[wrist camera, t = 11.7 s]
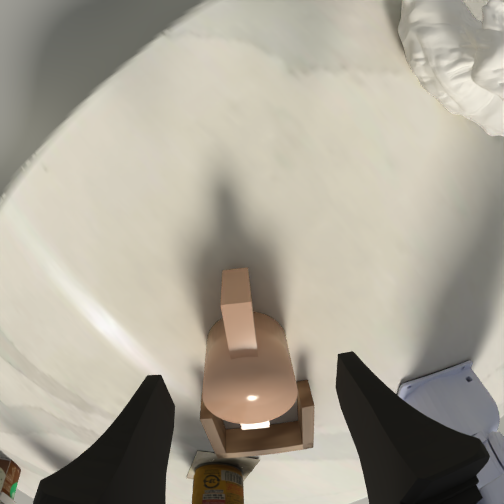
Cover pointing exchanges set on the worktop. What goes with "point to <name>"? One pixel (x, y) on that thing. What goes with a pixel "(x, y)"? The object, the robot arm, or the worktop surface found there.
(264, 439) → the cradle
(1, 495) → the food container
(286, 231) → the worktop surface
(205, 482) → the condiment
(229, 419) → the cylinder with bar handle
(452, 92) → the white tied sack
